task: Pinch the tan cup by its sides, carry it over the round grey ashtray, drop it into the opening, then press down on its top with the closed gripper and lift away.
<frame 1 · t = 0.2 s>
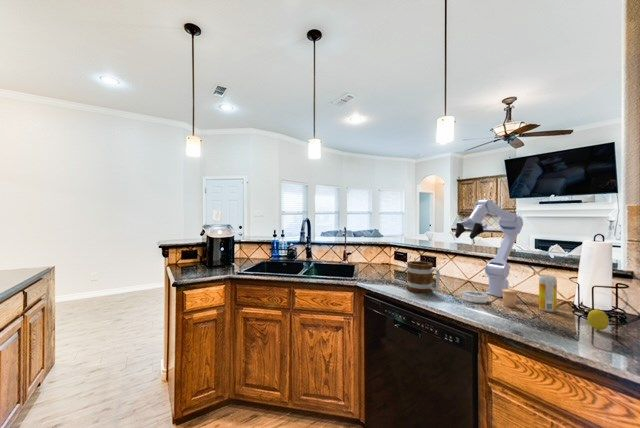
hand: (463, 237, 136), 31 cm above the countertop, tool tilted 45°, fingers open, 7 cm apart
beer can: (547, 310, 125), on the countertop
round grey ashtray: (474, 299, 140), on the countertop
mug: (423, 292, 154), on the countertop
tan cup: (509, 305, 131), on the countertop
lemon: (597, 331, 103), on the countertop
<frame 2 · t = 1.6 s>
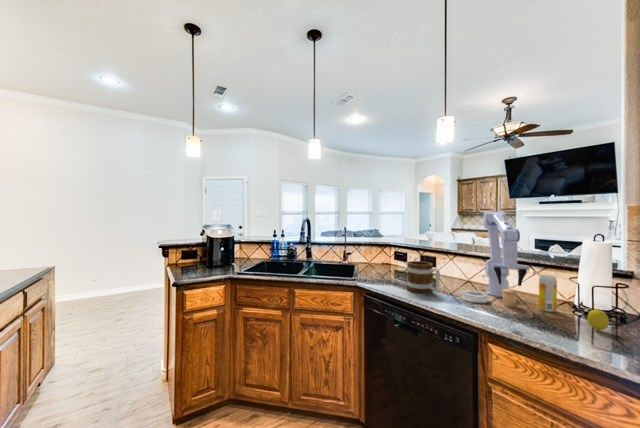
hand: (509, 284, 131), 10 cm above the countertop, tool pointing down, fingers open, 7 cm apart
nothing on the countertop moved.
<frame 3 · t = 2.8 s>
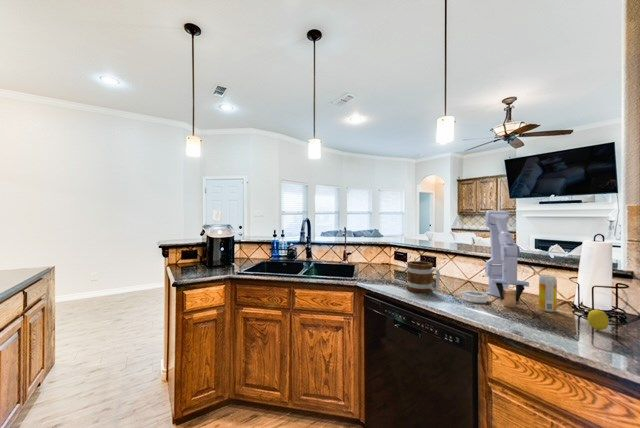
hand: (509, 300, 131), 2 cm above the countertop, tool pointing down, fingers closed on tan cup, 5 cm apart
tan cup: (509, 305, 131), on the countertop, touching gripper
everything else where it was.
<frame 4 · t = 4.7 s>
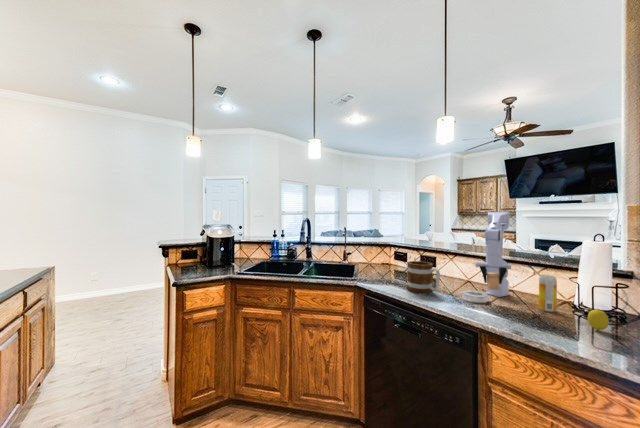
hand: (492, 283, 135), 9 cm above the countertop, tool pointing down, fingers closed on tan cup, 5 cm apart
tan cup: (493, 288, 135), point 7 cm above the countertop, touching gripper
everything else where it was.
when the fingers open (4 cm above the countertop, at t = 6.7 s): tan cup drops 1 cm, resting on round grey ashtray.
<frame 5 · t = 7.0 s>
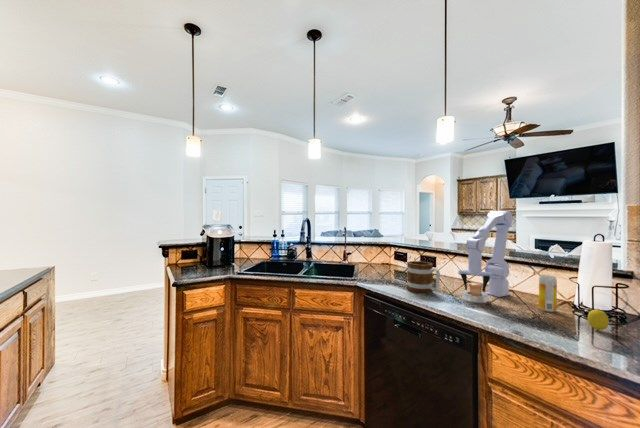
hand: (474, 290, 140), 4 cm above the countertop, tool pointing down, fingers open, 7 cm apart
tan cup: (475, 298, 140), point 1 cm above the countertop, touching round grey ashtray
everything else where it was.
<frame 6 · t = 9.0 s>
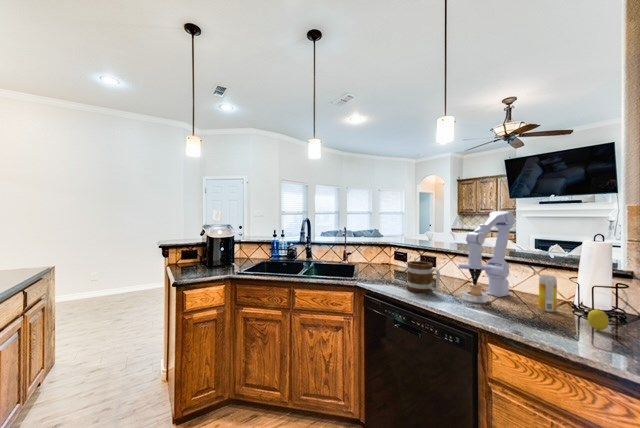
hand: (474, 284, 140), 8 cm above the countertop, tool pointing down, fingers closed, pressing on tan cup
tan cup: (475, 298, 140), point 1 cm above the countertop, touching round grey ashtray, gripper
everything else where it was.
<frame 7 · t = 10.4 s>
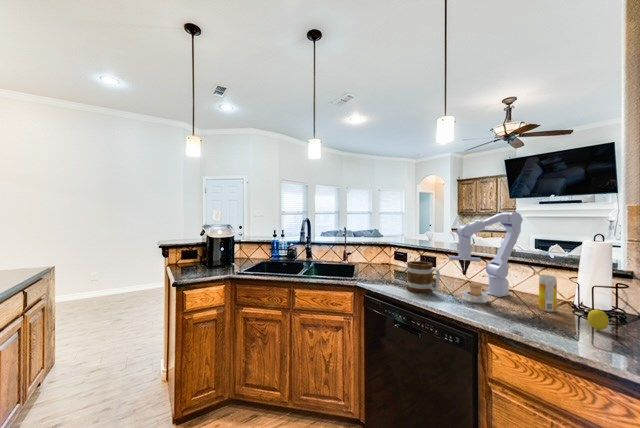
hand: (464, 274, 149), 10 cm above the countertop, tool pointing down, fingers closed
tan cup: (475, 298, 140), point 1 cm above the countertop, touching round grey ashtray
everything else where it was.
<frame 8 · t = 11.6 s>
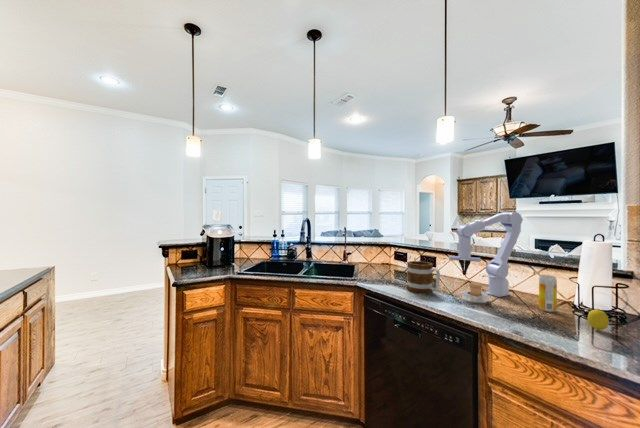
hand: (464, 274, 149), 10 cm above the countertop, tool pointing down, fingers closed
nothing on the countertop moved.
at the end: tan cup 0.3 cm off-centre on the round grey ashtray, point 0.6 cm above the round grey ashtray's base; tan cup tilted 0°; the gripper is holding nothing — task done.
